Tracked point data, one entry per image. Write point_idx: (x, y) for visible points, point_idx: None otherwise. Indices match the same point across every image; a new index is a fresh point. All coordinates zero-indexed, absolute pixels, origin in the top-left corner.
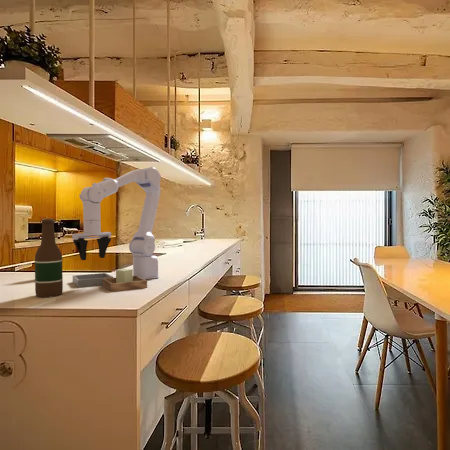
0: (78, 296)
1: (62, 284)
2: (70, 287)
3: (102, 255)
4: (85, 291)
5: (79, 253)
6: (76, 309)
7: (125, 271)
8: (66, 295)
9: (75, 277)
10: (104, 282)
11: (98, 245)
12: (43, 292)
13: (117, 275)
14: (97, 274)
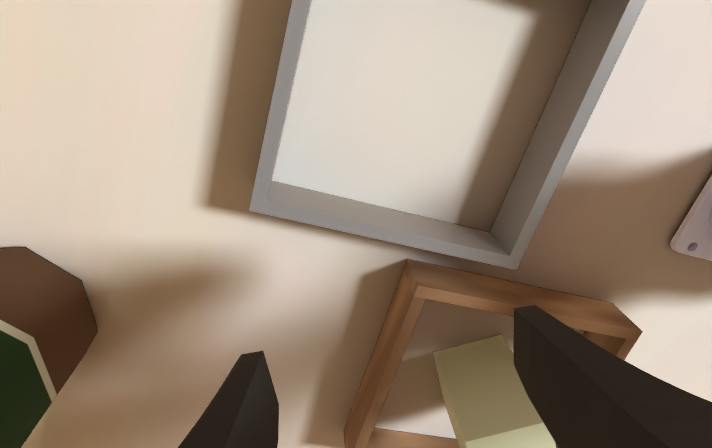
0: (162, 430)
1: (71, 372)
2: (210, 146)
3: (527, 376)
4: (241, 345)
5: (207, 417)
6: None
7: None
8: (113, 375)
9: (291, 39)
10: (395, 322)
11: (624, 411)
12: None
13: (456, 420)
14: None
